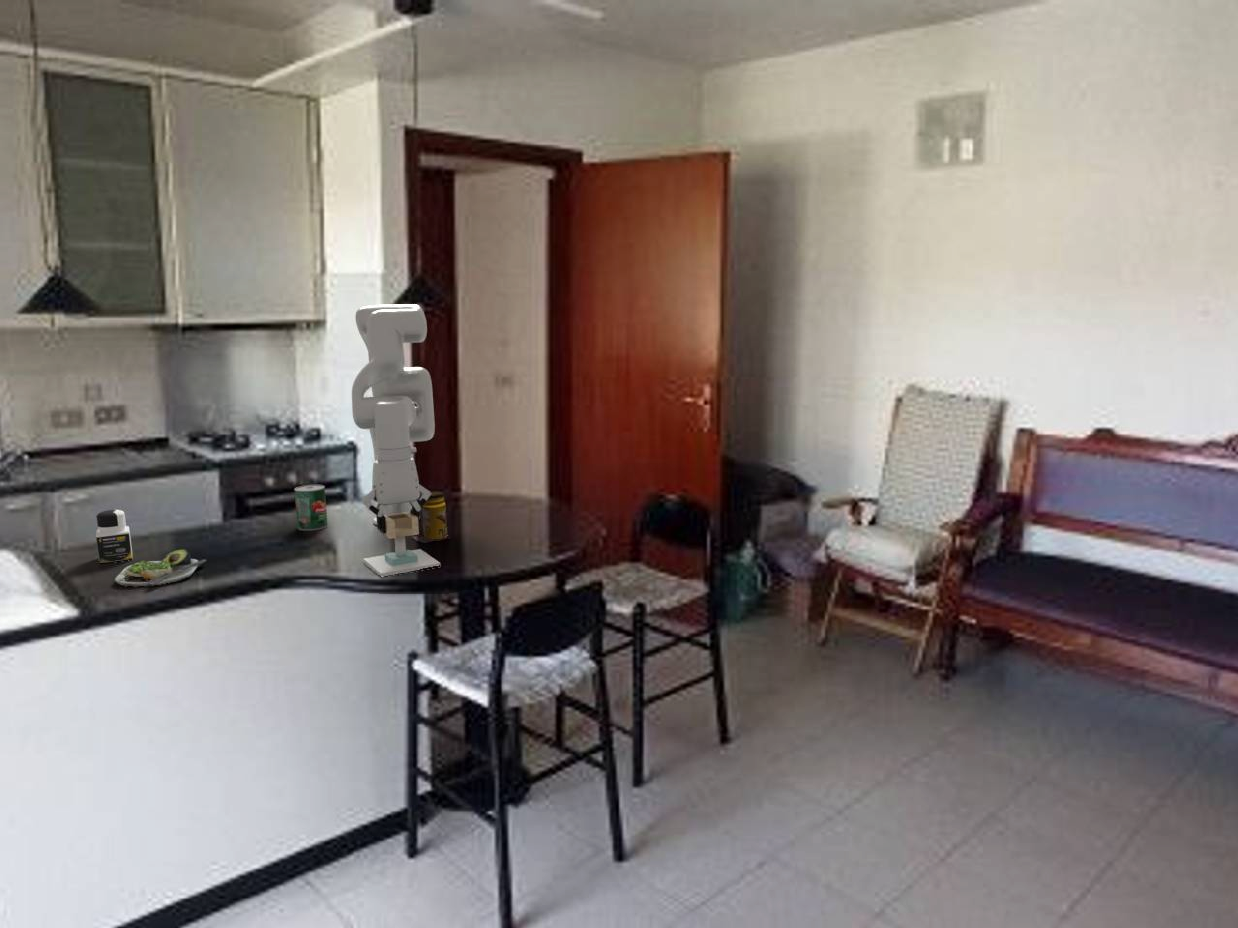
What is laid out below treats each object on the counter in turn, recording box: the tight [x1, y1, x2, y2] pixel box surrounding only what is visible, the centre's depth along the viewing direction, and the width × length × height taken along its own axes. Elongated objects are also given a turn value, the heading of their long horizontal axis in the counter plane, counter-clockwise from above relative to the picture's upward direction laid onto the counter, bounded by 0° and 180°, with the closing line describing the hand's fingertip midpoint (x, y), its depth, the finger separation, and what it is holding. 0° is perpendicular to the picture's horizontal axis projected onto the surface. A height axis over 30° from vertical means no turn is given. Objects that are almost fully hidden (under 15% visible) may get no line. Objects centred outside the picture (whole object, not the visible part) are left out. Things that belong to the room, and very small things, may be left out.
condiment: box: [421, 490, 448, 540], centre depth 241 cm, size 7×8×12 cm
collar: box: [379, 512, 420, 540], centre depth 218 cm, size 7×7×4 cm
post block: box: [362, 536, 441, 577], centre depth 219 cm, size 14×14×7 cm
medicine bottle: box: [95, 509, 133, 562], centre depth 229 cm, size 7×7×12 cm
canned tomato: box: [293, 484, 329, 532], centre depth 256 cm, size 8×8×11 cm
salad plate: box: [114, 549, 207, 588], centre depth 215 cm, size 19×18×5 cm
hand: (399, 529), depth 218 cm, fingers closed on collar, 7 cm apart
